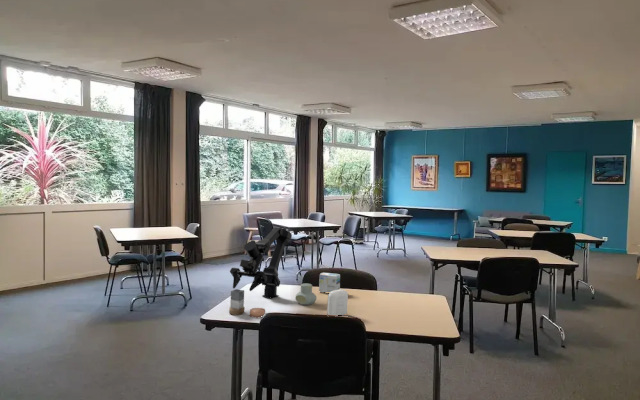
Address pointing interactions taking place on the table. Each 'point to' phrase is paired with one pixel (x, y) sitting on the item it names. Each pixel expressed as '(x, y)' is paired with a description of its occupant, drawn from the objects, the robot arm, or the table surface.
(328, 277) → the light bulb box
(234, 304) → the plate
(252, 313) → the stand
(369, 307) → the table surface
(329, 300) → the photo printer
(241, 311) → the stand
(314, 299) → the grey plastic tee piece
